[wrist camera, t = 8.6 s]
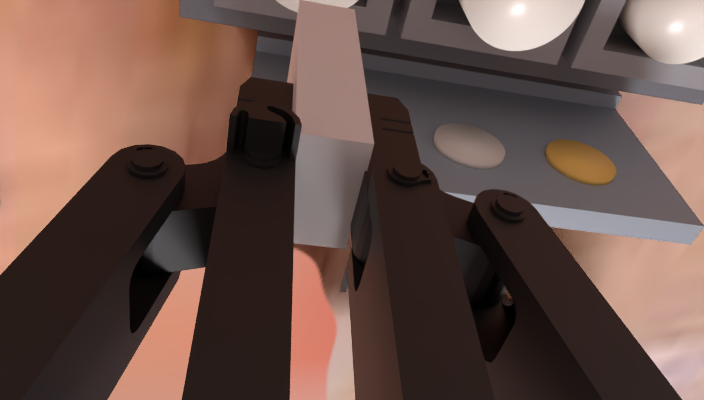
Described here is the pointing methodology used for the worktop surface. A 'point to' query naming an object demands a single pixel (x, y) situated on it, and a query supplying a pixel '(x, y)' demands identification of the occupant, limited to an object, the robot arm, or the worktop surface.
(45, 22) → the worktop surface
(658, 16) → the button
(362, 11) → the button board
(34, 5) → the worktop surface
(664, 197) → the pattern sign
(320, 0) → the button
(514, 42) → the button
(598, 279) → the worktop surface
